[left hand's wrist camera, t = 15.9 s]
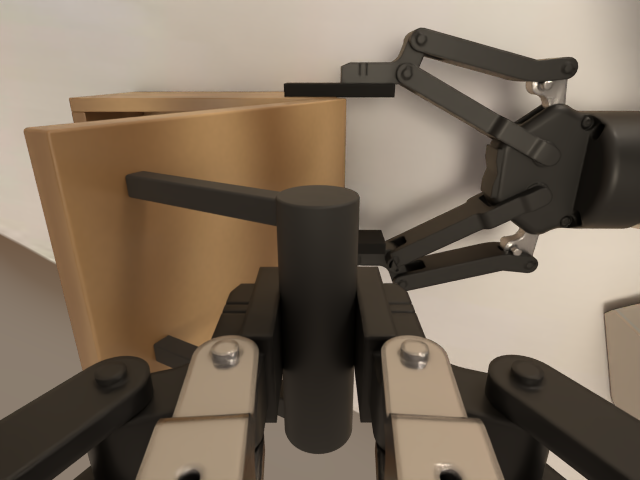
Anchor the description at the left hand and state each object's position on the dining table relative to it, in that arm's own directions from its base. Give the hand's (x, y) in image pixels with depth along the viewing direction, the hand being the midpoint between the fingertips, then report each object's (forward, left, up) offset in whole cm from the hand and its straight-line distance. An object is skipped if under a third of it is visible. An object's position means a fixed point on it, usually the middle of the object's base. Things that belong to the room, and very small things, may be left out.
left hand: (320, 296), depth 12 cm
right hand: (-2, 0, -17) cm, 17 cm away
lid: (-4, 0, -7) cm, 8 cm away
